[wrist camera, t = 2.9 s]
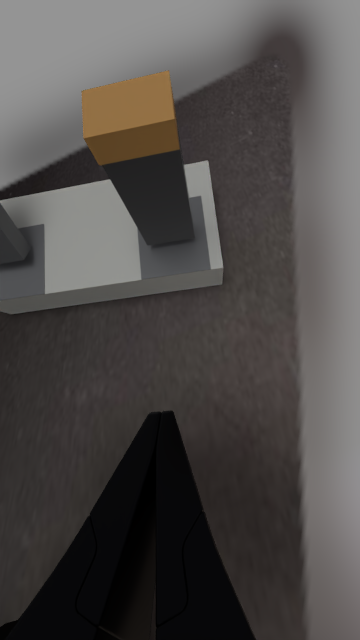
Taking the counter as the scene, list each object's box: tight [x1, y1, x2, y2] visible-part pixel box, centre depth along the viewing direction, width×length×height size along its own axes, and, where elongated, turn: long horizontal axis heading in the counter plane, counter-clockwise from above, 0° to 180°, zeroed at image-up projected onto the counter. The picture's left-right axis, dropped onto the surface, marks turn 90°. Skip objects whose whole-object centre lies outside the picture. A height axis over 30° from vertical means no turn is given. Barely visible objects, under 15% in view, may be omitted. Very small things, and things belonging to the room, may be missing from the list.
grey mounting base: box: [0, 161, 223, 314], centre depth 23 cm, size 9×20×4 cm, turn 96°
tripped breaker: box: [82, 71, 195, 245], centre depth 15 cm, size 2×4×10 cm, turn 96°
